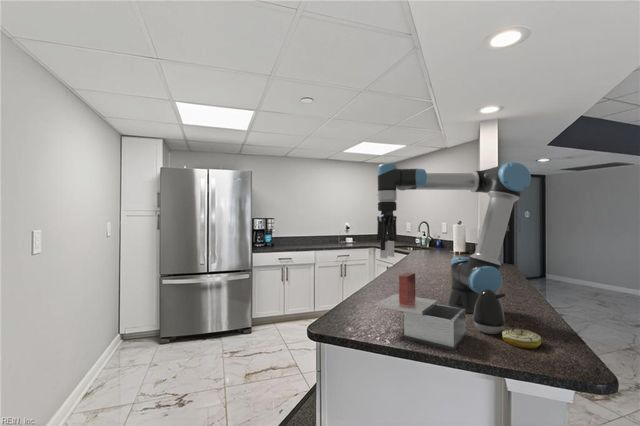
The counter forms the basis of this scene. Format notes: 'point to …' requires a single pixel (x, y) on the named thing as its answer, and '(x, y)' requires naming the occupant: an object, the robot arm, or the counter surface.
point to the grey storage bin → (437, 326)
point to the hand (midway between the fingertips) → (387, 257)
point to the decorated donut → (521, 338)
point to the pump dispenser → (489, 312)
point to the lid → (407, 297)
